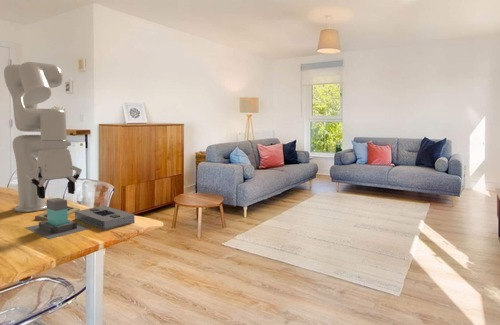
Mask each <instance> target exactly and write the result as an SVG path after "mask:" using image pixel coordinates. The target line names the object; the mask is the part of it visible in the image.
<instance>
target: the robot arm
mask: <svg viewBox="0 0 500 325" xmlns="http://www.w3.org/2000/svg"><path fill="white" fill-rule="evenodd" d="M3 70H4V71H3V76H4V82H5V84H6V87H7V89H8V91H9V94H10V96H11V99H12V106H13V108H12V109H13V118H14V124H15V128H16V129H17V130H18V131H20V132H27V133H29V132H30V133H35V132H36V133H38V132H39V133H40V134H23V135H22V134H21V135H18V136H16V137H15V138H14V139H13V140H12V150H13V153H14V158H15V164H16V166H15V167H16V175H17V177H16V179H17V181H16V182H17V194H18V205H16V206H15V207H14V211H16V212H18V213H29V212H30V213H31V212H39V211H43V210H47V202H46V194H45V193H46V192H45V189H46V188H45V183H46V182H47V181H52V180H61V179H66V180H68V182H67V193H68V194H71V195H75V191H76V183H77V181H78V179H79V178H80V176H81V173H82V171H83V170H82V169H81V168H79V167H77V166H75V165H73V161H72V156H71V151H70V149H69V148H68V147H70V146H71V145H72V143H71V141H68V139H67V118H66V117H67V116H66V112H65V110H63V109H60V108H38V104H40V103H41V104H42V103H43V102H46V101H47V100H48V99H50V98H51V96H52V90H51V89H53V88H58V87H60V86H61V85H62V83H63V80H64V78H63V72H62V70H61V68H60V67H59V66H57V65H56V64H53V63H44V62H35V61H27V62H23V63H21V64H9V65H6V66H5V67H4V69H3ZM36 158H37V159H36ZM74 172H75V173H74Z"/></svg>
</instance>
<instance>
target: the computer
mask: <svg viewBox="0 0 500 325" xmlns="http://www.w3.org/2000/svg"><path fill="white" fill-rule="evenodd" d="M75 211H80V208H79V207H75V206H74V207H73V206H69V205H67V212H68V216H70V215H72V214H75ZM34 220H35V221H48V220H47V211H45V212H43V213H40V214H37V215H35V216H34Z"/></svg>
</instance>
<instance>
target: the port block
mask: <svg viewBox="0 0 500 325" xmlns="http://www.w3.org/2000/svg"><path fill="white" fill-rule="evenodd" d="M74 219H75V220H76V221H79V222H81V223H84V224H87V225H90V226H92V227H94V228H98V229H100V230H103V231H107V230H110V229H113V228H114V229H115V228H118V227H123V226H126V225H129V224H135V214H133V213H131V212H128V211H123V210H120V209H117V208H114V207H110V206H107V205H101V206H95V207H91V208H86V209H82V210H79V211H75V212H74Z"/></svg>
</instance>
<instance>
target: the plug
mask: <svg viewBox="0 0 500 325" xmlns="http://www.w3.org/2000/svg"><path fill="white" fill-rule="evenodd" d="M46 203H47V209H46V212H47V220H48V224H51V225H53V226H58V225H63V224H67V223H68V220H69V219H68V218H69V217H68V216H69V215H68V212H67V206H68V200H67V199H64V198H60V197H56V198H50V199H49V198H48V199H46Z"/></svg>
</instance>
